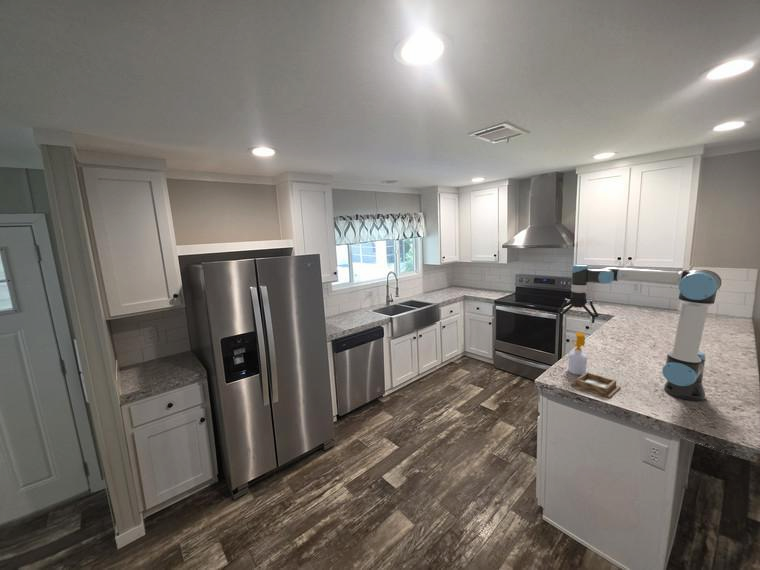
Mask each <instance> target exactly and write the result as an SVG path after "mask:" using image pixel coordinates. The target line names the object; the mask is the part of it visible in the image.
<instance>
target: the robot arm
mask: <svg viewBox="0 0 760 570" xmlns="http://www.w3.org/2000/svg"><path fill="white" fill-rule="evenodd" d="M612 282H623V283H633V284H645V285H654V286H657V285H658V286H664V287H665V286H666V287H678V290H679V294H678V300H679V302H680V303H681V307H680V312H679V317H678V322H677V327H676V332H675V337H674V341H673V342H674V343H673V347H672V350H670V351H668V352H667V356H666V361H665V364H664V365H663V366H662V371H661V372H662V376H663V377H664V378H665V379H666V381H665V383H664V387H663V390H664V391H665V393H667V394H669V395H670V396H673V397H676V398H679V399H681V400H682V399H683V400H685V401H691V402H702V401H705V400H706V392H705V389H704V386H703V377H704V370H705V362H706V361H707V360H706V355H705V354H704V353H702V352H700V346H701V341H702V337H703V332H704V328H705V323H706V319H707V314H708V310H709V307H711V306H712V305H714V304H715V300H716V297H717V292H718V290H719V289H720V288H721V286H722V278H721V277H720V275H719V274H718V273H716V272H715V271H712V270H708V269H682V270H681V271H678V270H677V271H675V270H657V269H642V268H641V269H640V268H625V267H624V268H623V267H622V268H621V267H615V266H608V267H604V268H600V269H599V268H598V269H592V268H591V269H590V268H589V266H588V265H587V264H585V265H584V264H575V265H573V266H572V272H571V290H570V291H571V292H570V299H568V298H564V302H563V303H562V304H561V307H560V308H559V310H558V311H557V314H558V315H560V321H562V327H565V323H566V322H565V319H566V313H567V312H568V311H569V310H571V309H573V307H574V308H580V309H584V310H585V311H586V312H587V313H588V314H589V315H590V317H589V319H590V321H589V329H591V330H592V327H593V324H595V320H596V319H595V318H599V313H598V312H597V309H596V308H595V306H594V303H593V300H592V299H590V300H587V287H588V283H593V284H602V285H604V284H605V285H606V284H607V285H609V284H612ZM568 303H570V305H569V306H567V304H568ZM586 304H588V305H590V308H591V310H592V311H593V312H592V311H591V310H590V309H589V307H587V305H586ZM566 306H567V308H565V307H566ZM564 308H565V309H564Z"/></svg>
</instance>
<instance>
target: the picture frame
mask: <svg viewBox="0 0 760 570" xmlns="http://www.w3.org/2000/svg"><path fill="white" fill-rule="evenodd" d="M571 385H572V386H571ZM570 386H571V387H574V386H575V387H574V388H577V387H578V389H579V390H580V389H581V390H584V391H587V392H589V393H592V394H596V395H599V396H601V397H605V398H607V399H610V398H612V397H613V396H614V395H615V394H616V393H617V392H618V391H620V390H621V385H617V380H616V379H612V378H609V377H606V376H602V375H599V374H597V373H596V374H595V373H593V372H589V371H586V373H584V374H583V375H579V377H577V378H576V379H575V381H573V382H572V383H570Z"/></svg>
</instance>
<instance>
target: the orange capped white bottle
mask: <svg viewBox="0 0 760 570" xmlns="http://www.w3.org/2000/svg"><path fill="white" fill-rule="evenodd" d="M574 334H575V336H576V341H575V342H573V344H574V345H575V346H576V347H574V348H575V349H574V351H573V352H570V353H569V355H568V367H567V368H568V369H567V371H568V372H569V373H571V374H573V375H577V376H581V375H583V374H584V373H586V372H587V360H588V357H587V355H586V354H585V353H584V352H583V351H582V349H583V348H581V347H583V346H584V347H585V343H586V342H585V341H586V337H585V334H584V332H582V331H581V332H580V331H576V332H574Z"/></svg>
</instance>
